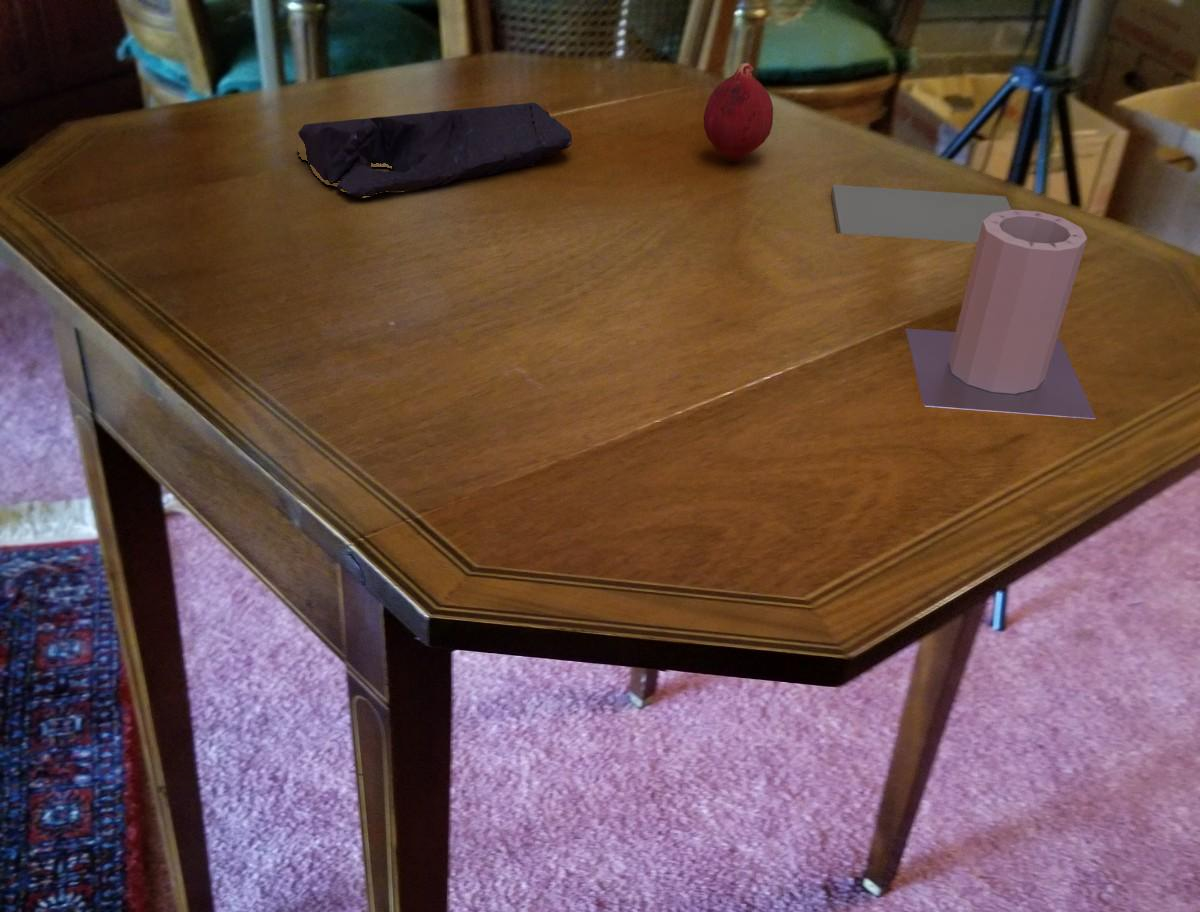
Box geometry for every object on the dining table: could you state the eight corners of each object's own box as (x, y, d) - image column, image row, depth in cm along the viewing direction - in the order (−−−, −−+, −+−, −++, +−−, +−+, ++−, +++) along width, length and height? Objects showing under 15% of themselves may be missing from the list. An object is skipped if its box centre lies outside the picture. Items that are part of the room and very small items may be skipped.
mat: (1003, 205, 98) (1005, 195, 98) (1047, 302, 85) (1050, 292, 84) (831, 193, 99) (832, 184, 99) (846, 288, 85) (848, 277, 85)
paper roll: (1033, 352, 76) (1074, 213, 70) (1051, 397, 72) (1096, 252, 66) (943, 346, 76) (977, 206, 71) (956, 389, 72) (992, 245, 66)
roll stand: (1056, 355, 78) (1095, 227, 73) (1091, 436, 71) (1138, 300, 65) (901, 344, 79) (929, 216, 73) (919, 423, 71) (951, 287, 66)
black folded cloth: (594, 173, 101) (596, 114, 98) (336, 208, 93) (330, 146, 90) (522, 116, 111) (522, 61, 108) (285, 143, 103) (278, 86, 100)
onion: (750, 179, 101) (762, 79, 96) (688, 164, 103) (697, 66, 98) (777, 158, 105) (790, 61, 100) (717, 145, 107) (726, 49, 102)
